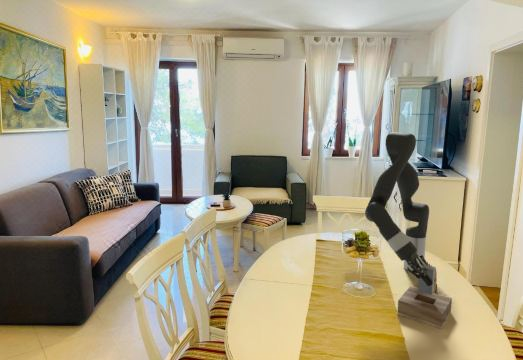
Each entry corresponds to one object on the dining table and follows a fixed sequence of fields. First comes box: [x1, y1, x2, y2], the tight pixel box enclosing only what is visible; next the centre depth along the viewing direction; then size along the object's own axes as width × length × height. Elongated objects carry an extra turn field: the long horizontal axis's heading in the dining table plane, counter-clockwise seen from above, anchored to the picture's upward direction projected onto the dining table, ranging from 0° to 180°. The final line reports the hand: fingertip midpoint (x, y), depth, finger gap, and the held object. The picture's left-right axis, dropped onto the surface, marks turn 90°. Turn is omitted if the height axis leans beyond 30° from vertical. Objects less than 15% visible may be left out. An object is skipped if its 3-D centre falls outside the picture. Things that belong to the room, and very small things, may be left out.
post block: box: [396, 286, 453, 329], centre depth 148 cm, size 14×16×6 cm
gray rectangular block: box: [417, 264, 437, 295], centre depth 145 cm, size 3×5×10 cm, turn 52°
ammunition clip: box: [426, 261, 438, 294], centre depth 166 cm, size 11×2×12 cm, turn 3°
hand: (432, 283), depth 144 cm, fingers closed on gray rectangular block, 3 cm apart
